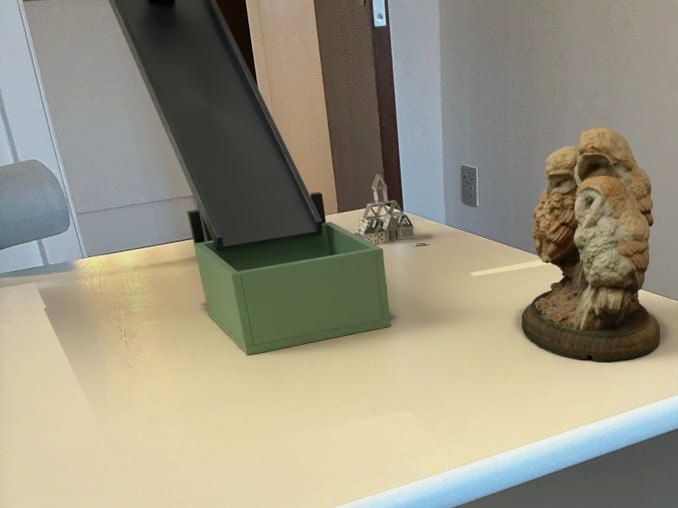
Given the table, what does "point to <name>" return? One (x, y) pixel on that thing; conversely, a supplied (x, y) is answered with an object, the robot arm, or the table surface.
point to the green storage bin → (295, 289)
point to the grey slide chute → (217, 123)
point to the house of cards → (384, 221)
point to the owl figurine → (594, 252)
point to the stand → (202, 232)
